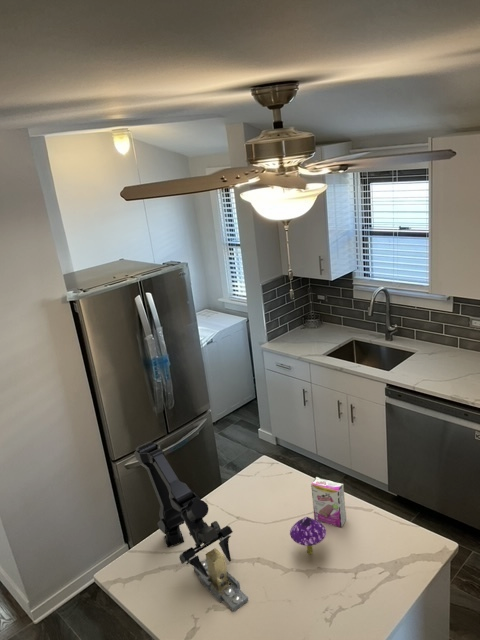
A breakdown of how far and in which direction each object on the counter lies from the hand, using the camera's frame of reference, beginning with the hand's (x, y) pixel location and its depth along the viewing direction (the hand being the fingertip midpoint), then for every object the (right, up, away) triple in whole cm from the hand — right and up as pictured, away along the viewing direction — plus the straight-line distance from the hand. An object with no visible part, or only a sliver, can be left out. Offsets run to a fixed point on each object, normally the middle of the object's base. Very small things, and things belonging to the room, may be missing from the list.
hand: (218, 568), depth 170 cm
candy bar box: (+41, +5, +26) cm, 49 cm away
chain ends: (0, -7, +3) cm, 8 cm away
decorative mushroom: (+31, 0, +12) cm, 34 cm away
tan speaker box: (0, -7, +3) cm, 8 cm away
